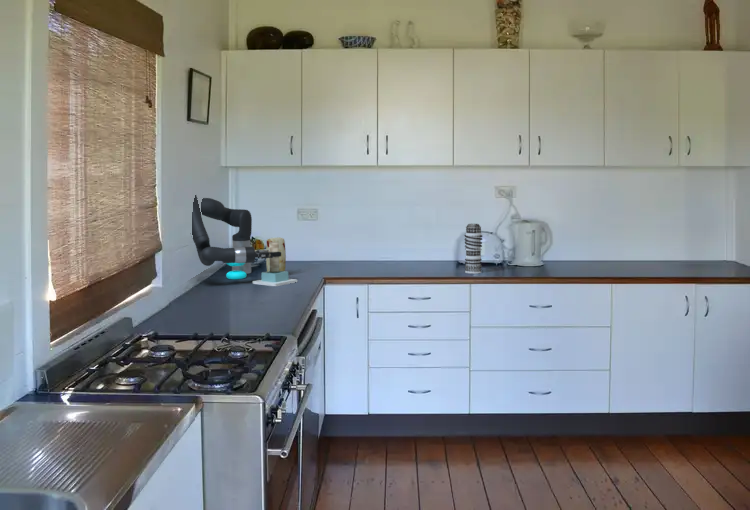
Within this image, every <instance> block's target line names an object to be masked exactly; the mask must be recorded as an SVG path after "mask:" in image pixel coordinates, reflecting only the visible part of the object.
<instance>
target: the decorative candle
mask: <svg viewBox="0 0 750 510" xmlns="http://www.w3.org/2000/svg"><path fill="white" fill-rule="evenodd" d="M465 228H466V229H465V234H464V244H465V245H464V247H465V249H464V250H465V259H464V260H465V261H464V263H465V265H464V270H465V271H464V272H465V273H466V274H481V273H482V264H483V263H482V255H481V254H482V247H483V245H482V244H483V242H482V240H483V235H482V226H481V225H480V224H479V223H468V224H467V225H466V226H465Z"/></svg>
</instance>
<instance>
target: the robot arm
mask: <svg viewBox="0 0 750 510" xmlns="http://www.w3.org/2000/svg"><path fill="white" fill-rule="evenodd" d="M202 198H203V199H202V202H201V212H202V215H201V212H200V208H199V204H198V200H197V199H198V196H197V194H196V195H195V198H194V202H193V212H192V235H193V238H192V240H193V242H194V246H195V248H196V251H197V255H198V259H199V260H200V262H201V264H203V266H205V267H210V266H212V265H213V264H214V263H215V262H222V263H224V264H226V263H245V264H244V265H242V266H231V271H236V270H240V271H244V272H245V273H246V274H251V273H252V263H255V262H256V258H257V259H259V260H263V259H266V258H273V257H280V256H281V252H269V250H266V249H257V250H256V249H255V247H254V246H251V236H252V227H253V225H252V224H253V223H252V222H253V221H252V220H253V219H252V213H251V211H250V210H248V209H244V208H243V209H242V208H241V209H239V208H238V209H234V208H229V207H225V205H224V204H223V202H221V201H218V200H217V199H214V198H212V197H211V198H210V197H202ZM202 216H204V217H207V218H209V219H214V220H217V221H220V222H224V223H225V224H227V225H229V226H232V227H235V228H238V231H237V233H235V234H233V235H232V236H231V237H232V238H231V241H232V247H225V248H224V247H217V246H211V242H210V236H209V234H208V232H207V230H206V227H205V224H204V222H203V217H202Z"/></svg>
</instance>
